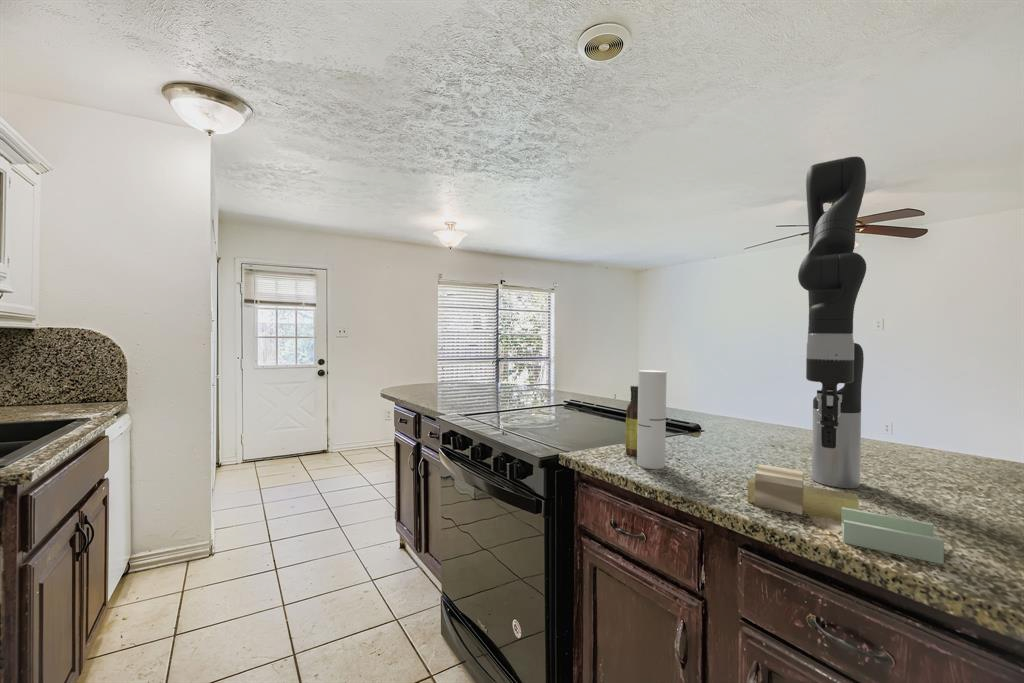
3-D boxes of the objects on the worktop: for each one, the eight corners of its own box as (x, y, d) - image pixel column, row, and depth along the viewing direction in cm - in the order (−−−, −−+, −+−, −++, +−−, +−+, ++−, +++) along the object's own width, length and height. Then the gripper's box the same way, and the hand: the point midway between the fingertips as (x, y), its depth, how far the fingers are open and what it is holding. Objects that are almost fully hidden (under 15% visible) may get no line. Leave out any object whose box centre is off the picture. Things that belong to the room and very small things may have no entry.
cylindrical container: (666, 469, 113) (668, 372, 113) (638, 467, 115) (639, 371, 115) (663, 462, 120) (664, 370, 120) (635, 460, 122) (637, 369, 122)
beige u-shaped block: (758, 494, 96) (759, 464, 96) (802, 502, 91) (803, 470, 91) (754, 505, 89) (755, 473, 89) (801, 514, 85) (802, 480, 85)
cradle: (841, 526, 80) (841, 507, 80) (932, 544, 73) (932, 523, 73) (843, 542, 73) (844, 521, 73) (943, 564, 66) (944, 541, 66)
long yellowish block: (750, 497, 95) (750, 476, 95) (856, 517, 85) (856, 494, 85) (747, 503, 91) (748, 481, 91) (858, 525, 81) (858, 501, 81)
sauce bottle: (643, 458, 125) (645, 387, 125) (622, 454, 128) (623, 386, 128) (650, 453, 130) (651, 385, 130) (629, 450, 133) (630, 384, 133)
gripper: (857, 359, 78) (855, 455, 78) (851, 357, 90) (850, 441, 90) (805, 357, 82) (804, 449, 82) (807, 355, 94) (805, 436, 94)
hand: (828, 444), depth 86 cm, fingers open, 5 cm apart
